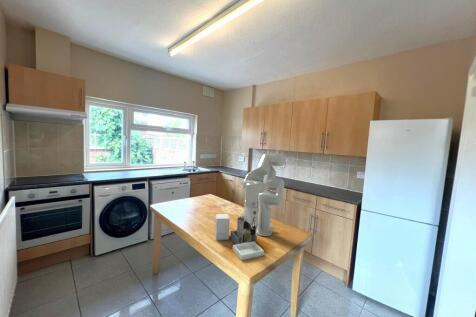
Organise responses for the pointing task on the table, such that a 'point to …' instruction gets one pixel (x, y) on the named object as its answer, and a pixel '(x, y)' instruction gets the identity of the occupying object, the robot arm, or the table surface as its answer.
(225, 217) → the supplement box
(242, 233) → the coffee box
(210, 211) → the table surface
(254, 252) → the tray
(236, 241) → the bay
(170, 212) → the table surface
